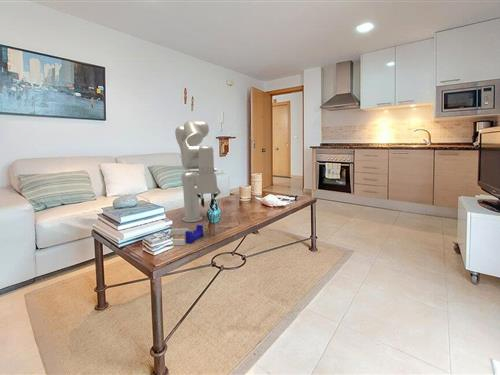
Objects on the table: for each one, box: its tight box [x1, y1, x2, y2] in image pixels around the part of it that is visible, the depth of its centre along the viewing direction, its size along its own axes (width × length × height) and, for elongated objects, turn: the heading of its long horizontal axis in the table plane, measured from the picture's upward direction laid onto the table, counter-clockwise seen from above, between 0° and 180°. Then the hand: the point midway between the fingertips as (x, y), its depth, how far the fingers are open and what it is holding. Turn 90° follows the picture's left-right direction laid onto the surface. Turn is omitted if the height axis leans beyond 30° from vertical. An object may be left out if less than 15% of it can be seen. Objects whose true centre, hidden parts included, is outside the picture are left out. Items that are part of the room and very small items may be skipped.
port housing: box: [167, 227, 190, 247], centre depth 137 cm, size 17×10×3 cm, turn 6°
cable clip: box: [184, 224, 204, 244], centre depth 138 cm, size 12×4×6 cm, turn 159°
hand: (207, 206), depth 136 cm, fingers open, 3 cm apart
